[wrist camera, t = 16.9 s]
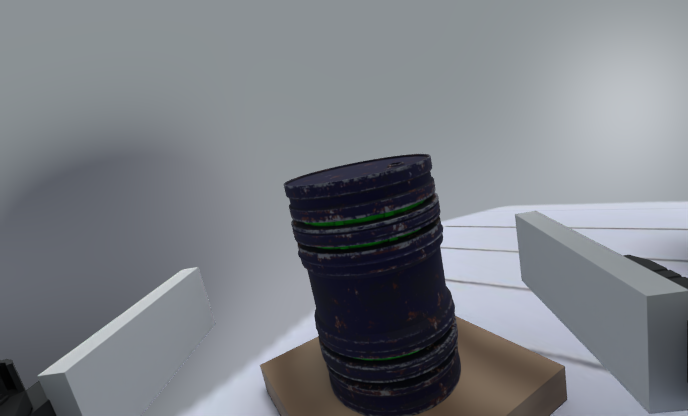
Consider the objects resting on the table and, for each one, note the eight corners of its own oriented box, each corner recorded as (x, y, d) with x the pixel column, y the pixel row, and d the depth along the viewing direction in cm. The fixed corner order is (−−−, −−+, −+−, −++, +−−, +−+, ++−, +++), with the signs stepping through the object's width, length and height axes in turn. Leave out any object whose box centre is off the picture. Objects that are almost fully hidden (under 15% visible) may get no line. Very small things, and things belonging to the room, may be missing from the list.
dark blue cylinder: (301, 396, 25) (249, 192, 22) (366, 321, 33) (334, 165, 30) (439, 441, 19) (395, 175, 16) (477, 338, 27) (451, 147, 24)
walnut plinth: (409, 314, 37) (406, 293, 36) (567, 399, 23) (564, 366, 23) (267, 390, 30) (260, 365, 29) (370, 579, 16) (360, 537, 15)
